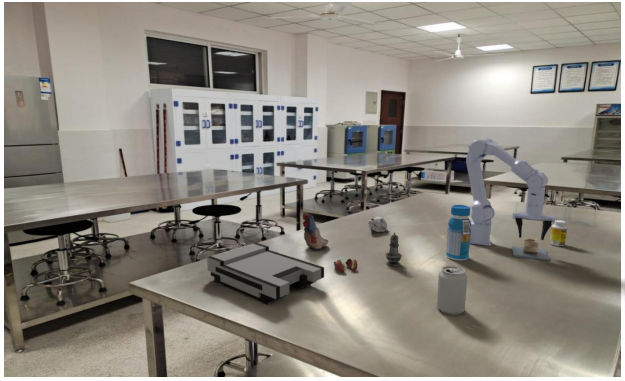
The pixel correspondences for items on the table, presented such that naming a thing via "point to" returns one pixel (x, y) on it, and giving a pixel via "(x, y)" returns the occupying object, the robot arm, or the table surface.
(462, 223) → the beverage bottle
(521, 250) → the pin plate
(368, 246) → the table surface
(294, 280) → the game console
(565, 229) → the supplement bottle
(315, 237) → the rooster figurine
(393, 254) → the stone pagoda statue
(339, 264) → the pair of red halves
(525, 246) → the sleeve
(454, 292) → the can
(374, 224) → the grey lumpy stone
